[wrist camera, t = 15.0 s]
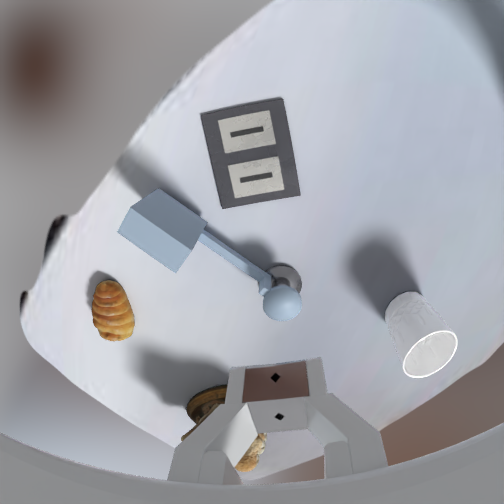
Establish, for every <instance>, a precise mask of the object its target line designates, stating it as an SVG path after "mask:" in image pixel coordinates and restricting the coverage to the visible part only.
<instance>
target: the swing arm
mask: <svg viewBox="0 0 504 504" xmlns="http://www.w3.org/2000/svg"><path fill="white" fill-rule="evenodd" d="M207 223H208V222H206V221H205V220H204V219H202V218H201V217H199V216H198V215H196V214H195V213H194V212H192V211H191V210H189V209H188V208H187V207H185V206H184V205H182V204H181V203H179V202H178V201H177V200H175V199H174V198H172V197H171V196H169V195H168V194H167V193H165V192H164V191H162V190H161V189H159V188H158V189H156V190H155V191H153V192H152V193H150V194H149V195H147V196H146V197H144V198H143V199H142V200H140V201H139V202H137V203H136V204H134V205H133V206H132V207H130V209H129V211H128V213H127V214H126V216H125V218H124V220H123V222H122V224H121V226H120V228H119V230H118V231H117V232H118V233H119V234H121V235H122V236H123V237H125V238H126V239H127V240H129V241H130V242H132V243H133V244H134V245H136V246H137V247H139V248H140V249H141V250H143V251H144V252H146V253H147V254H149V255H150V256H151V257H153V258H154V259H156V260H157V261H159V262H160V263H162V264H163V265H164V266H166V267H167V268H169V269H170V270H172V271H173V272H175V273H176V272H177V271H178V270H179V268H180V267H181V265H182V264H183V262H184V261H185V260H186V258H187V257H188V255H189V254H190V252H191V251H192V249H193V248H194V246H195V244H196V242H197V240H198V241H200V242H201V243H203V244H204V245H206V246H207V247H208V248H210V249H211V250H213V251H214V252H216V253H217V254H219V255H220V256H222V257H223V258H224V259H226V260H227V261H229V262H230V263H232V264H233V265H235V266H236V267H238V268H239V269H241V270H242V271H243V272H245V273H246V274H248V275H249V276H251V277H252V278H254V279H255V280H257V281H258V282H259V294H261V295H262V296H264V299H263V309H264V312H265V313H266V315H267V316H268V317H270V318H271V319H274V320H277V321H287V320H290V319H292V318H294V317H295V316H297V315H298V314H299V312H300V310H301V307H302V302H301V297H300V294H299V293H298V291H297V290H295V289H294V288H292V287H290V286H286V285H280V286H276V287H273V288H271V276H270V275H269V274H267V273H266V272H264V271H263V270H262V269H260V268H259V267H257V266H256V265H254V264H253V263H251V262H250V261H249V260H247V259H246V258H244V257H243V256H241V255H240V254H238V253H237V252H236V251H234V250H233V249H231V248H230V247H228V246H227V245H225V244H224V243H223V242H221V241H220V240H218V239H217V238H215V237H214V236H212V235H211V234H210V233H208V232H207V231H205V230H204V228H205V226H206V224H207Z"/></svg>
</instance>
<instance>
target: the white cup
mask: <svg viewBox="0 0 504 504" xmlns="http://www.w3.org/2000/svg"><path fill="white" fill-rule="evenodd" d="M385 321H386V324H387V326H388V328H389V331H390V335H391V338H392V341H393V344H394V347H395V349H396V352H397V355H398V357H399V360H400V362H401V365H402V368H403V371H404V372H405V374H406V375H408V376H410V377H414V378H420V377H425V376H428V375H431V374H433V373H435V372H436V371H438V370H440V369H441V368H442V367H443V366H445V365H446V364H447V363H448V362H449V360H450V359H451V358H452V356H453V355H454V353H455V351H456V348H457V343H458V341H457V337H456V335H455V334H454V332H453V331H452V330H451V329H450V327H449V326H448V325H447V323H446V322H445V321H444V320H443V318H442V317H441V316H440V315H439V314H438V312H437V311H436V310H435V309H434V308H433V307H432V306H431V305H430V304H429V303H428V302H427V300H426V299H425V298H424V297H423V296H422V295H421V294H419V293H417V292H405V293H403V294H400V295H398V296H397V297H396V298H395V299H393V300H392V301H391V302H390V304H389V305H388V307H387V309H386V311H385Z"/></svg>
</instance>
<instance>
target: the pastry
mask: <svg viewBox="0 0 504 504" xmlns="http://www.w3.org/2000/svg"><path fill="white" fill-rule="evenodd" d="M93 297H94V299H93V302H92V316H93V323H94V326H95V327H96V328H98V331H99V333H100V336H101V337H102V338H104V339H106V340H110V341H121V340H124V339H126V338H128V337H130V336H131V335H132V333H133V328H134V325H135V322H134V314H133V312H132V309H131V305H130V303H129V300H128V298H127V295H126V293H125V291H124V289H123V288H122V287H121V285H120V284H119V283H117V282H116V281H111V280H106V281H103V282H101V283H99V284H98V285H97V286H96V290H95V293H94V295H93Z"/></svg>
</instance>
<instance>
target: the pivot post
mask: <svg viewBox="0 0 504 504" xmlns="http://www.w3.org/2000/svg"><path fill="white" fill-rule="evenodd" d="M266 273H267V274H269V275H270V276H271V288H273V287H276V286H280V285H286V286H290V287H292V288H294V289H295V290H297V291H298V293H300V291H301V287H302V282H301V277H300V275H299V274H298V272H297V271H296V270H295V269H293V268H291V267H289V266H284V265H279V266H274V267H272V268H270V269H268V270H267V271H266Z"/></svg>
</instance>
